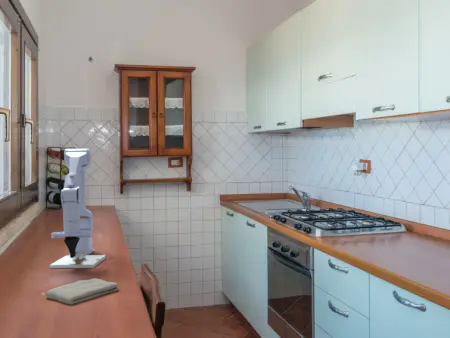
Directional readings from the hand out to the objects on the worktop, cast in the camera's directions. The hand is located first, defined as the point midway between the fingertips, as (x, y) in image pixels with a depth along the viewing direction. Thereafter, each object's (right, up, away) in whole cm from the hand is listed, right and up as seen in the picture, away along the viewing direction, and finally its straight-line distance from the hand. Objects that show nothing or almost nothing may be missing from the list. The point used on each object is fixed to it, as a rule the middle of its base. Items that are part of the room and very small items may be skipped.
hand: (72, 257), depth 169 cm
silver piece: (+1, -2, +4) cm, 5 cm away
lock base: (0, -3, +7) cm, 8 cm away
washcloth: (+14, -5, -33) cm, 36 cm away
